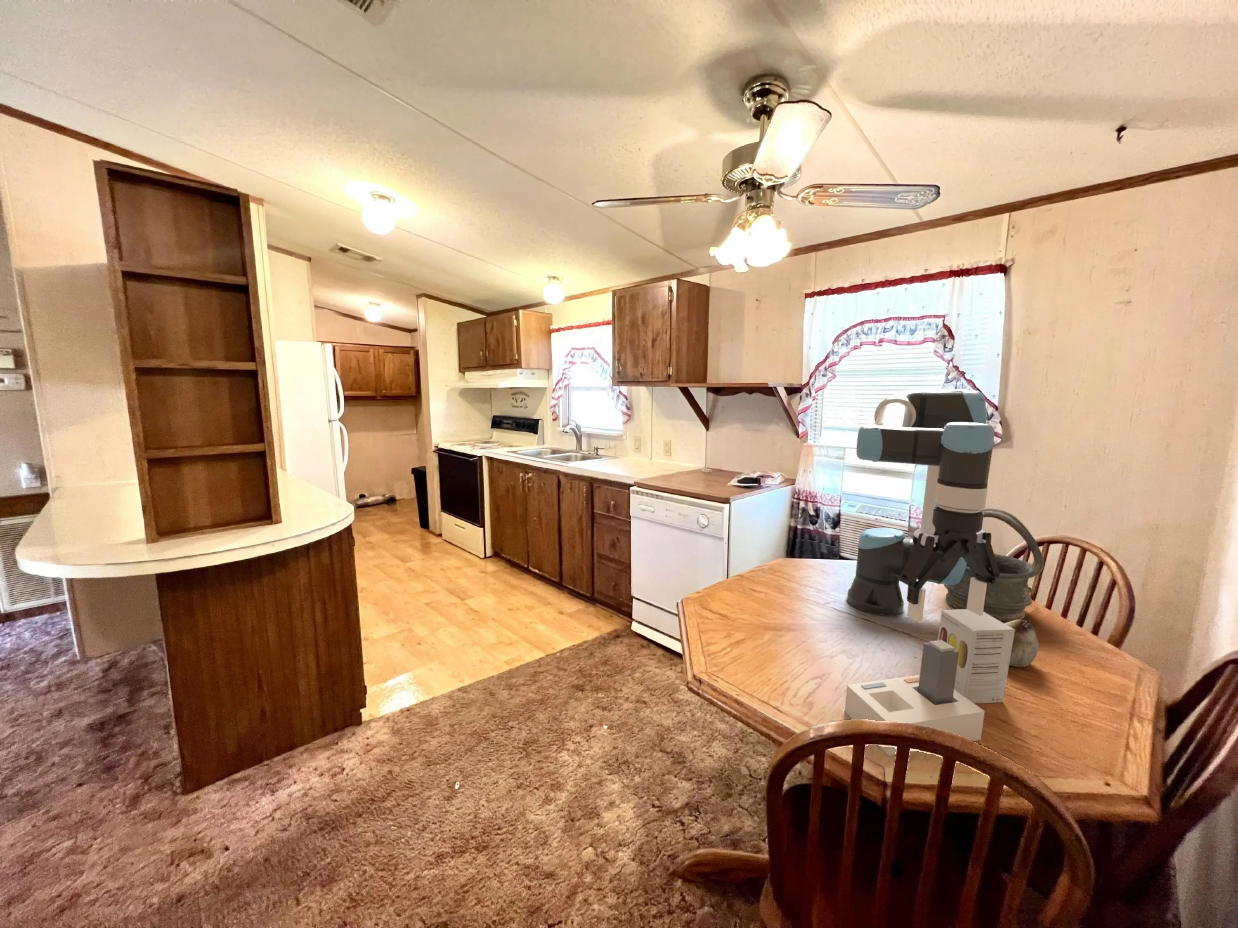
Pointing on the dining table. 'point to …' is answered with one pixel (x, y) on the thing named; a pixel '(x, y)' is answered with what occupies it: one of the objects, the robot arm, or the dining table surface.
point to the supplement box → (978, 653)
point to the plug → (938, 672)
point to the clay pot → (1003, 578)
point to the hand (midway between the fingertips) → (944, 615)
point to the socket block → (912, 708)
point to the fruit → (1023, 643)
